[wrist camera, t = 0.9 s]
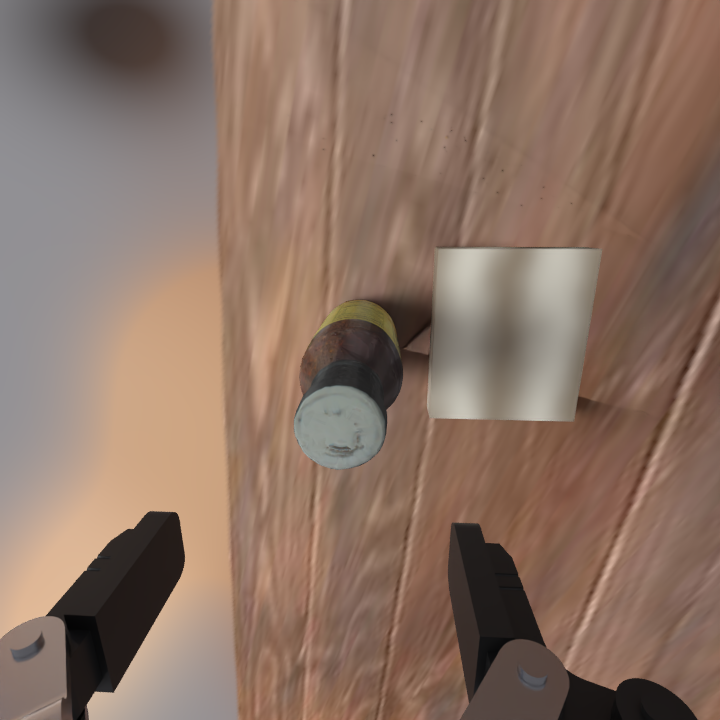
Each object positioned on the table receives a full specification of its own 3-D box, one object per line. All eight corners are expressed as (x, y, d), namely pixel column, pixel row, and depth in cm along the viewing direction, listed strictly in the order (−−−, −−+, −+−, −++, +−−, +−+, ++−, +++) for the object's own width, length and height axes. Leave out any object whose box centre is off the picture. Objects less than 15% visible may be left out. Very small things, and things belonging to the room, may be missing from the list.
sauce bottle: (371, 378, 39) (357, 527, 20) (311, 342, 38) (236, 461, 19) (412, 317, 37) (439, 418, 18) (349, 278, 36) (309, 339, 17)
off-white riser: (584, 246, 35) (602, 249, 32) (560, 406, 39) (573, 421, 36) (434, 246, 35) (438, 248, 33) (426, 403, 40) (429, 418, 37)
